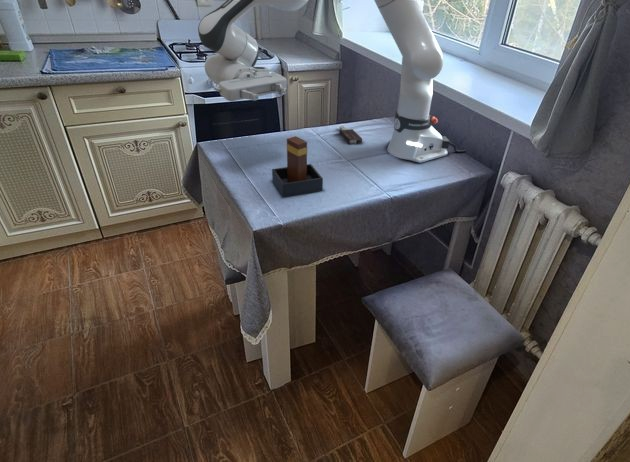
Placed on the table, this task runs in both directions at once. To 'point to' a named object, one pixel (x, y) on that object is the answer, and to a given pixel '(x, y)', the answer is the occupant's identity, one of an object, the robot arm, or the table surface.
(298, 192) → the tray
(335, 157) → the table surface
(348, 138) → the ice cream bar
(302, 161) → the chocolate box
